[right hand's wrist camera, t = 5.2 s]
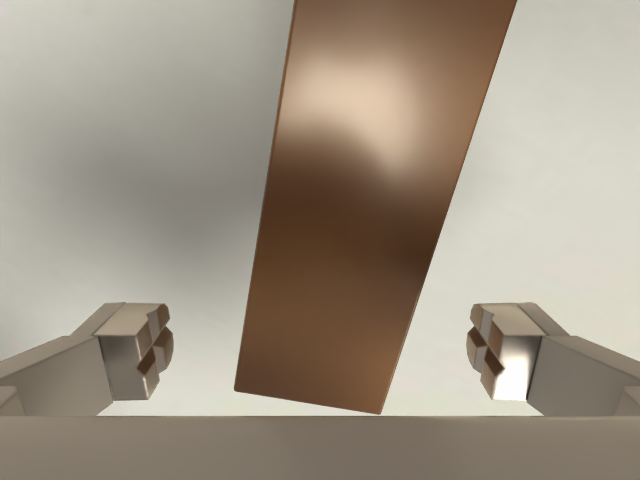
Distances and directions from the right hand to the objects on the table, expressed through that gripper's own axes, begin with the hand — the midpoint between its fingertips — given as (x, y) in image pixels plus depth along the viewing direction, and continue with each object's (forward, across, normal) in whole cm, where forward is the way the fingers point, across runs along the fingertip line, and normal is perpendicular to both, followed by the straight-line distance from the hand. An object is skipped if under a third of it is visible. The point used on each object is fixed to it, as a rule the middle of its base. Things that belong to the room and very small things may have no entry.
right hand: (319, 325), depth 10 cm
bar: (+10, -2, -7) cm, 12 cm away
